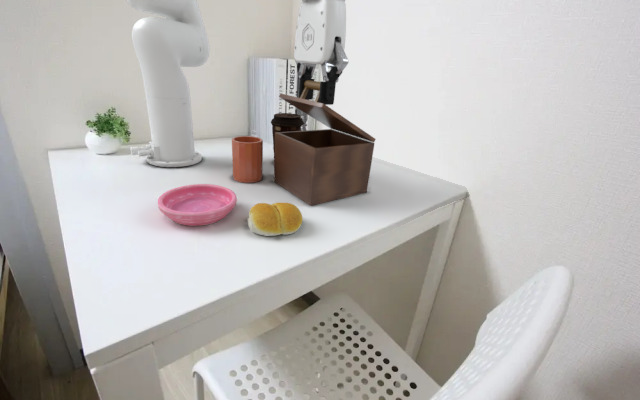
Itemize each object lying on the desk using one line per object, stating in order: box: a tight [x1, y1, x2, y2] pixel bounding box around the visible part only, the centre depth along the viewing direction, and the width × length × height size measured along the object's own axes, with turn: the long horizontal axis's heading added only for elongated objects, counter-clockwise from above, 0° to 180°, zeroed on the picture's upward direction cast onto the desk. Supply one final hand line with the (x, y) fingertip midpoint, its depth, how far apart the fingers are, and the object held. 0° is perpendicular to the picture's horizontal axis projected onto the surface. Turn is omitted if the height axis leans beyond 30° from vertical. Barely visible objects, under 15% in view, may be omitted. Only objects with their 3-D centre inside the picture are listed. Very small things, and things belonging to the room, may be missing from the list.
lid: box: [278, 80, 376, 143], centre depth 64 cm, size 16×15×5 cm
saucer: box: [157, 183, 238, 227], centre depth 53 cm, size 12×12×3 cm
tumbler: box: [231, 135, 264, 184], centre depth 69 cm, size 7×7×9 cm
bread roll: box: [246, 202, 304, 237], centre depth 51 cm, size 8×9×4 cm
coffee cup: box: [270, 112, 305, 159], centre depth 81 cm, size 9×8×13 cm
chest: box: [273, 128, 375, 206], centre depth 67 cm, size 16×15×11 cm
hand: (315, 100), depth 60 cm, fingers closed on lid, 6 cm apart
